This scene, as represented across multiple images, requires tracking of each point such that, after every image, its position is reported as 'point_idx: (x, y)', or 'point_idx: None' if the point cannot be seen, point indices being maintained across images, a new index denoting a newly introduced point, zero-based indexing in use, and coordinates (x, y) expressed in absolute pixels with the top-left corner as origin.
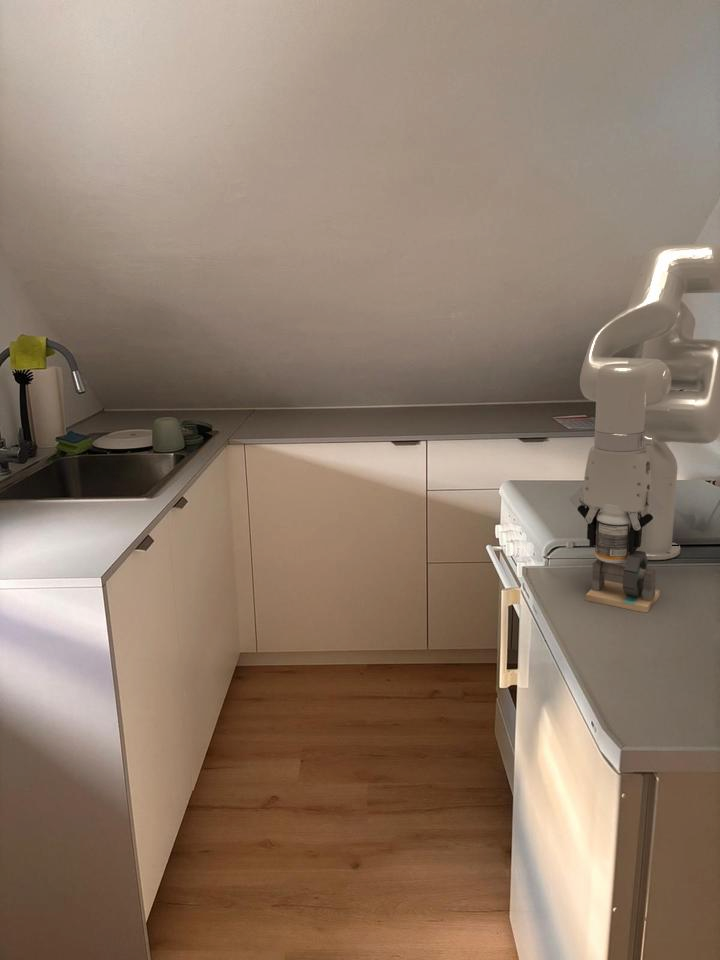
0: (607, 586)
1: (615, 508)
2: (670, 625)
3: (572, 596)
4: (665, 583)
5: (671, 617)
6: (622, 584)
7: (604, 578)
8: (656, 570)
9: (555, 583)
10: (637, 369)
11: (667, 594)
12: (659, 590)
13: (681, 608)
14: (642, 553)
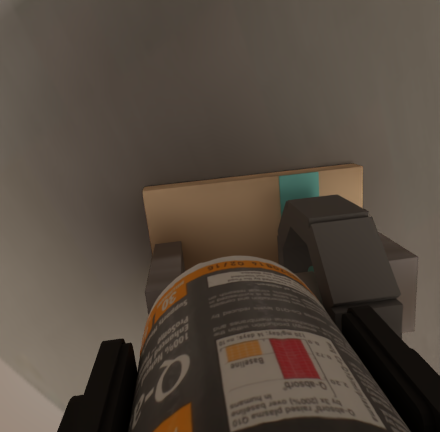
0: (194, 241)
1: None
2: (425, 345)
3: (118, 331)
4: (341, 21)
5: (418, 298)
6: (231, 190)
7: (180, 251)
8: (410, 253)
9: (7, 268)
10: None
11: (372, 131)
12: (361, 169)
13: (432, 220)
14: (398, 335)
